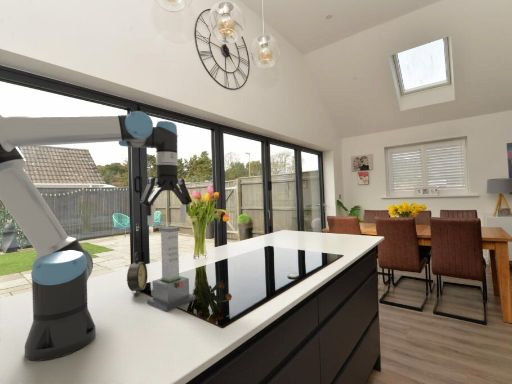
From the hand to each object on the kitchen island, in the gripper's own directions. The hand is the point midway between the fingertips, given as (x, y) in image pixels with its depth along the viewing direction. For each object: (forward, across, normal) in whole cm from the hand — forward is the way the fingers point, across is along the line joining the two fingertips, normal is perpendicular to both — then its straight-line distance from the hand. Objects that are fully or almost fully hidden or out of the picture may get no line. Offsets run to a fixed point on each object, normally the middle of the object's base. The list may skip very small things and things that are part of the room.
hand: (168, 223), depth 96 cm
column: (+21, +1, 0) cm, 21 cm away
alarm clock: (+29, -1, +20) cm, 35 cm away
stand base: (+28, +1, 0) cm, 29 cm away
